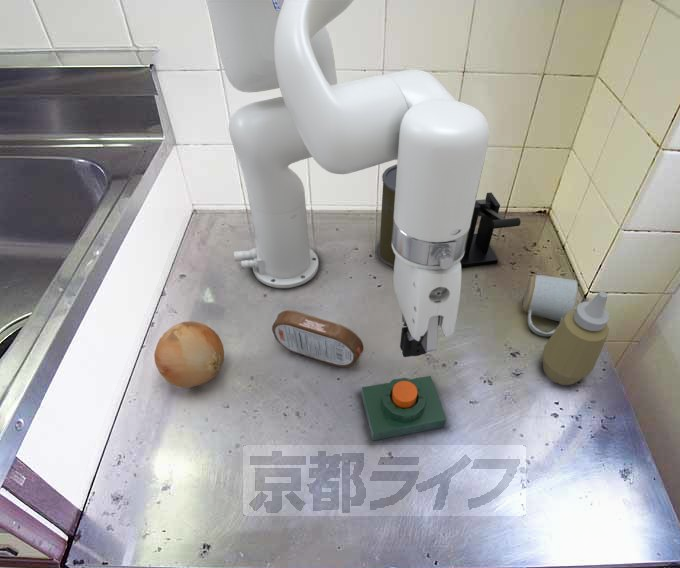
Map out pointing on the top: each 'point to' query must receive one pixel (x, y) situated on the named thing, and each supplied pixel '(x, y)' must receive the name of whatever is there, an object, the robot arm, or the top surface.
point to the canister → (387, 216)
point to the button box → (402, 409)
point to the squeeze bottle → (577, 342)
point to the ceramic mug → (549, 299)
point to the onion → (189, 354)
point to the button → (404, 394)
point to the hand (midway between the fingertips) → (413, 350)
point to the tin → (317, 338)
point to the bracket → (480, 238)
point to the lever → (496, 216)
